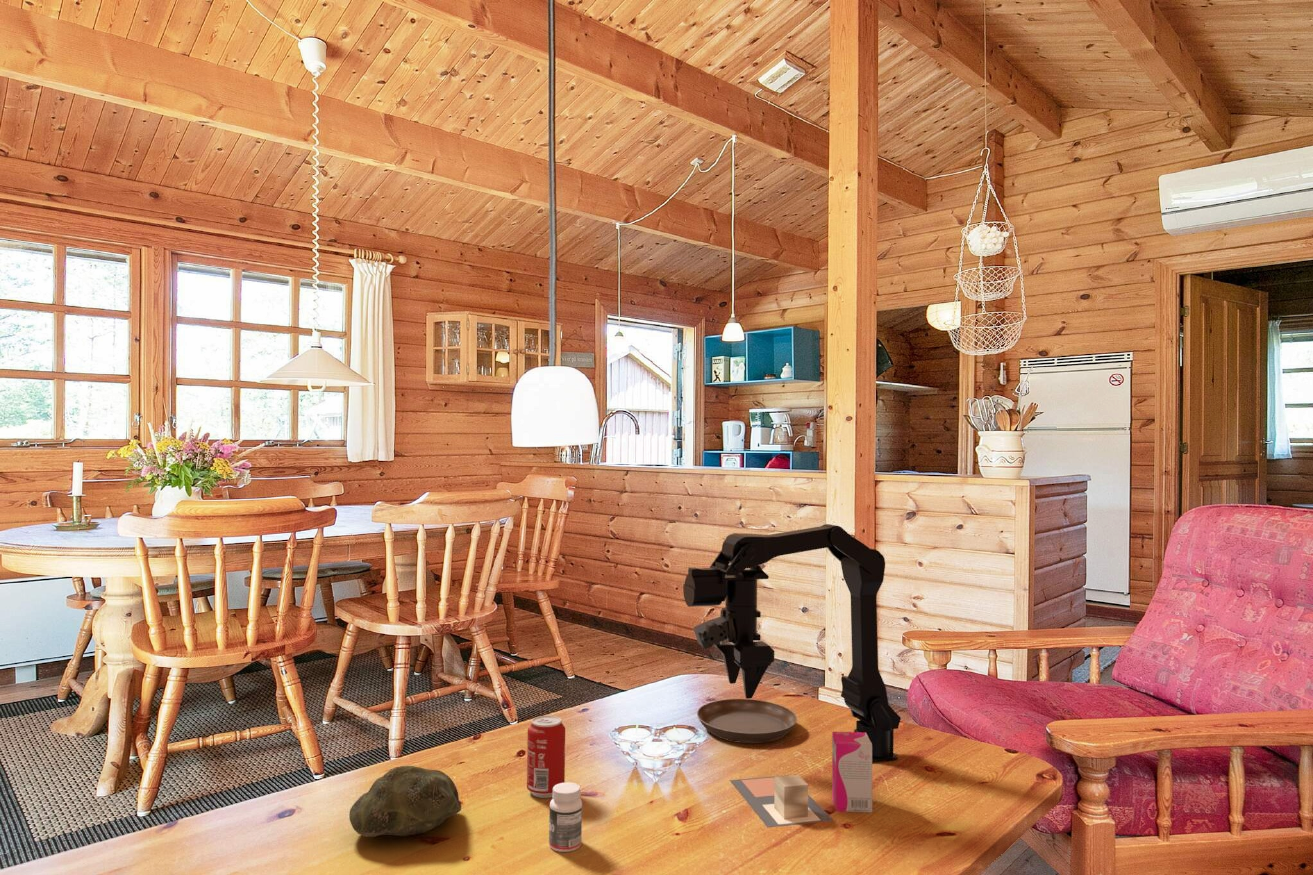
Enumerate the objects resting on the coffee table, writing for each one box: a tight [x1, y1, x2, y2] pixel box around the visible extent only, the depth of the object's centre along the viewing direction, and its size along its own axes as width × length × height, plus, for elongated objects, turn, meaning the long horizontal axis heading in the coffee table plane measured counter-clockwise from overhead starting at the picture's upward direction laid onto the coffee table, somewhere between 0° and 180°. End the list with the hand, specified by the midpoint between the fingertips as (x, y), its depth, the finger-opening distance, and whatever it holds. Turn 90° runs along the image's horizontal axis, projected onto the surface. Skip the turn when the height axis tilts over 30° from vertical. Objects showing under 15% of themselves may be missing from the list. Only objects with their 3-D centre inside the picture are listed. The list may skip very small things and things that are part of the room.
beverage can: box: [526, 715, 566, 799], centre depth 137 cm, size 6×6×12 cm
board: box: [729, 774, 835, 828], centre depth 134 cm, size 11×18×1 cm, turn 14°
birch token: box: [774, 774, 809, 819], centre depth 129 cm, size 4×4×5 cm
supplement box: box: [831, 731, 873, 814], centre depth 133 cm, size 6×6×12 cm
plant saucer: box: [696, 698, 798, 744], centre depth 170 cm, size 21×21×3 cm
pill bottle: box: [548, 781, 583, 853], centre depth 119 cm, size 5×5×8 cm
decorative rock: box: [349, 765, 462, 838], centre depth 123 cm, size 15×16×10 cm
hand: (740, 690), depth 147 cm, fingers open, 9 cm apart
